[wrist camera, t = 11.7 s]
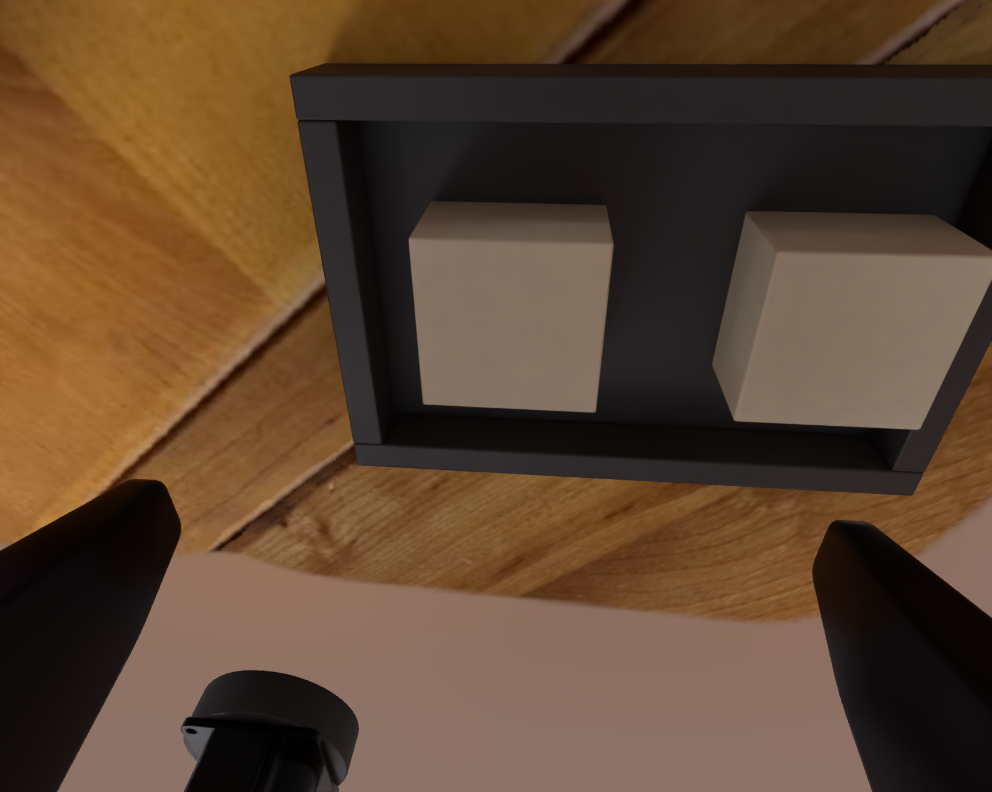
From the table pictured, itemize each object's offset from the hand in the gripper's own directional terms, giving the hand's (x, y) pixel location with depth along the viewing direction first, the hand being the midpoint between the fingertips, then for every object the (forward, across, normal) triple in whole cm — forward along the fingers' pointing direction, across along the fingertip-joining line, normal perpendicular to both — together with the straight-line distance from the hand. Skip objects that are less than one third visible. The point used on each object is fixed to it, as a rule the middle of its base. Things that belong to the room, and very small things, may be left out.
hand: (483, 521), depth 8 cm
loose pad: (+8, 0, 0) cm, 8 cm away
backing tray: (+8, -3, 0) cm, 9 cm away
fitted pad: (+8, -7, 0) cm, 11 cm away
